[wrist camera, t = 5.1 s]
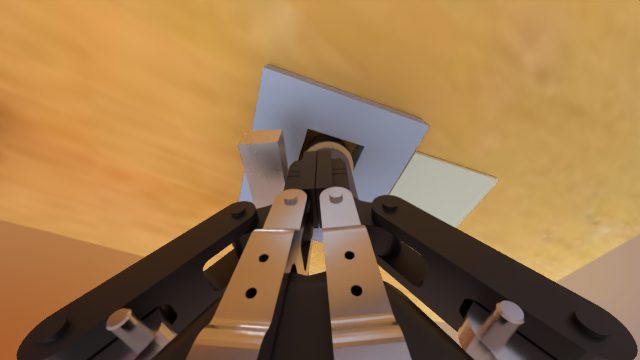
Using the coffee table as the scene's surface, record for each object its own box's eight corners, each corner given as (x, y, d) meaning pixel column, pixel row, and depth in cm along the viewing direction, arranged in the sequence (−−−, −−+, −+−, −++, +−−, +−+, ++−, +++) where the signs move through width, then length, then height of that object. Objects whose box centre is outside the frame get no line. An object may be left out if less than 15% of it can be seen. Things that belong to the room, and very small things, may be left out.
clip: (300, 127, 11) (298, 140, 10) (318, 301, 20) (319, 320, 19) (229, 132, 12) (217, 145, 10) (278, 302, 20) (275, 322, 19)
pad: (495, 177, 24) (498, 180, 24) (449, 228, 28) (451, 232, 28) (412, 150, 22) (415, 152, 22) (376, 209, 27) (377, 213, 26)
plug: (356, 139, 22) (374, 187, 15) (339, 178, 24) (348, 234, 17) (310, 124, 21) (307, 168, 14) (297, 166, 23) (289, 220, 17)
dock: (420, 118, 21) (477, 165, 13) (351, 236, 29) (363, 305, 22) (268, 63, 18) (235, 85, 11) (240, 210, 26) (210, 278, 19)
